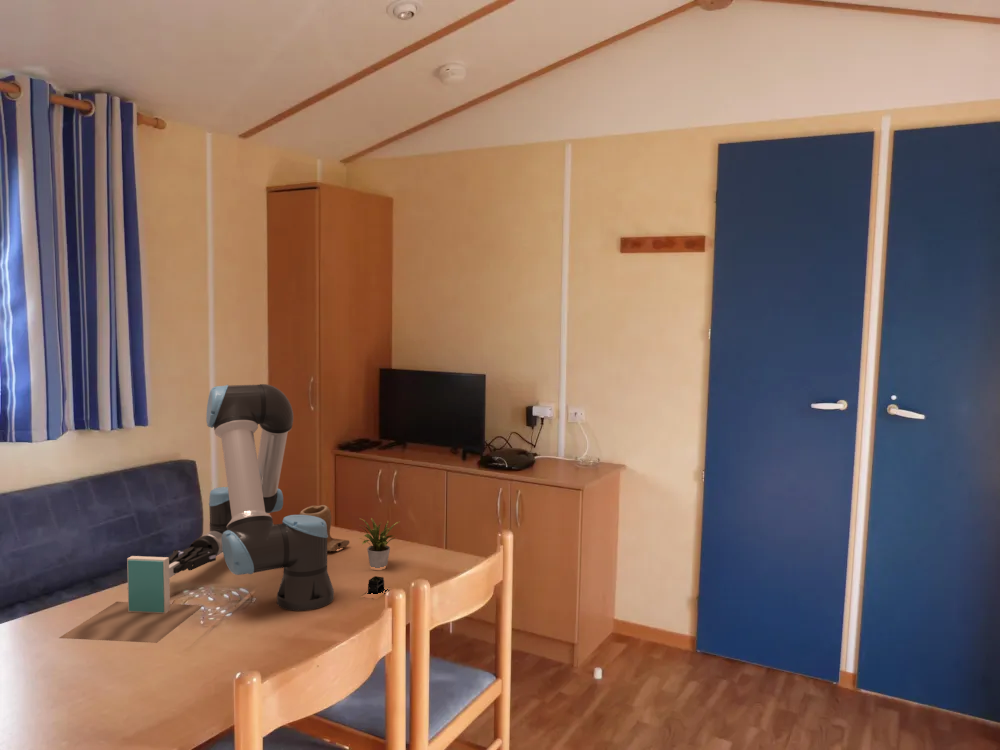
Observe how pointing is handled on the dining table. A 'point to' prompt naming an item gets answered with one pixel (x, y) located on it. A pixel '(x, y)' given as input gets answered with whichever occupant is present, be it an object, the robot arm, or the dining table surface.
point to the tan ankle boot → (325, 514)
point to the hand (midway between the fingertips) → (164, 574)
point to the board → (131, 624)
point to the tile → (148, 584)
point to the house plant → (378, 545)
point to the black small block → (376, 585)
